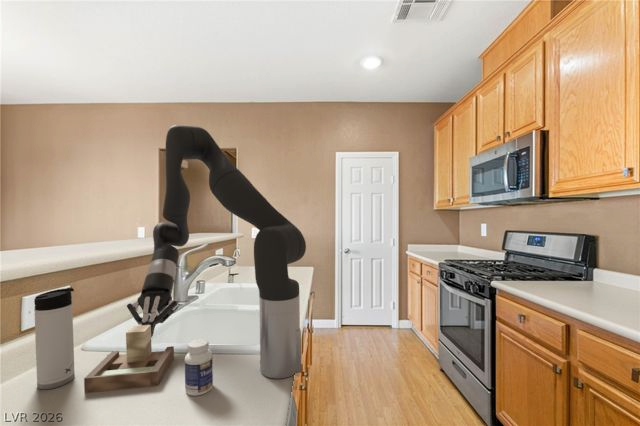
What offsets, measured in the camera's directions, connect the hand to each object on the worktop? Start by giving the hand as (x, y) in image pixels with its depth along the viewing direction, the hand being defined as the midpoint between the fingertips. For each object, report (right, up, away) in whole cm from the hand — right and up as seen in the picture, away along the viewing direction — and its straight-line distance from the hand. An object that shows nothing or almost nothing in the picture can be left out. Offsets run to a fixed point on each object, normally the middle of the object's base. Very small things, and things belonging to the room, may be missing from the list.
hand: (145, 338), depth 78 cm
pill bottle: (+19, -5, -13) cm, 23 cm away
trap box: (+1, -5, -7) cm, 9 cm away
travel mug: (-14, -6, -10) cm, 18 cm away
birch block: (+1, -3, -3) cm, 5 cm away
